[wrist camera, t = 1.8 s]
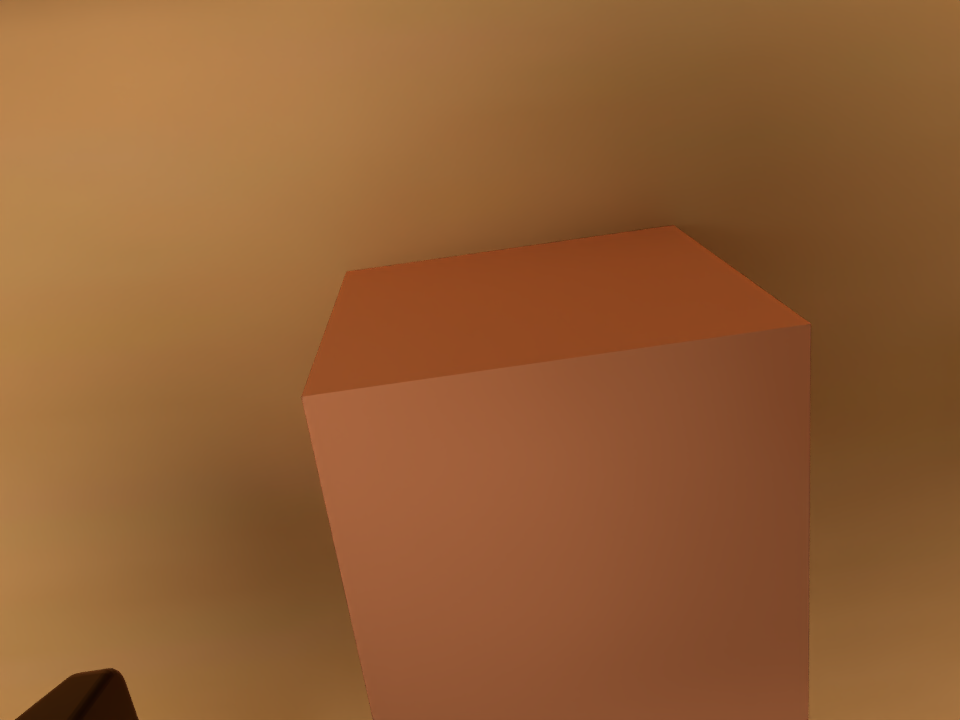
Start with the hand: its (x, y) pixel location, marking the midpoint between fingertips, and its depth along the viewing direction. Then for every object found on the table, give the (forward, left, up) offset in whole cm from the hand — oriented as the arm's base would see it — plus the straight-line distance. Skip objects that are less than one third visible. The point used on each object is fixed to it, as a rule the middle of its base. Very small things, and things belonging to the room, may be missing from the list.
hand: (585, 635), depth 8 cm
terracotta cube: (0, 0, -6) cm, 6 cm away
